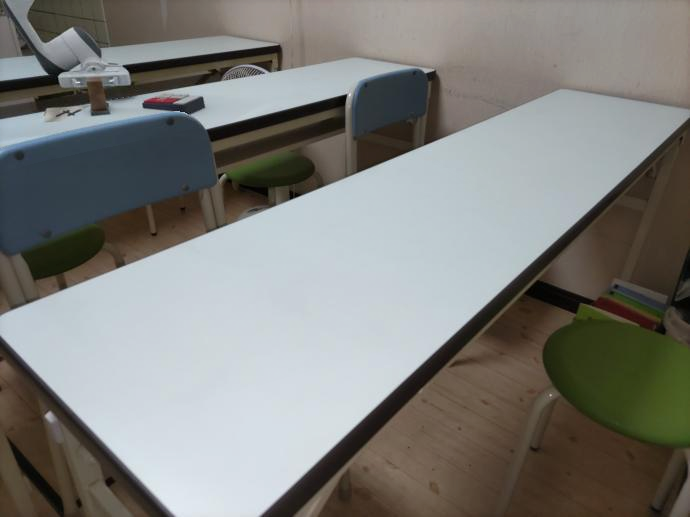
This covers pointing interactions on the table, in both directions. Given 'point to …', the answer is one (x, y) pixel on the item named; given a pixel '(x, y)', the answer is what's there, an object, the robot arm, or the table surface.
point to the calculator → (175, 103)
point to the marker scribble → (68, 112)
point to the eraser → (97, 96)
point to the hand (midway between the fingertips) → (95, 84)
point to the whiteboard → (52, 112)
